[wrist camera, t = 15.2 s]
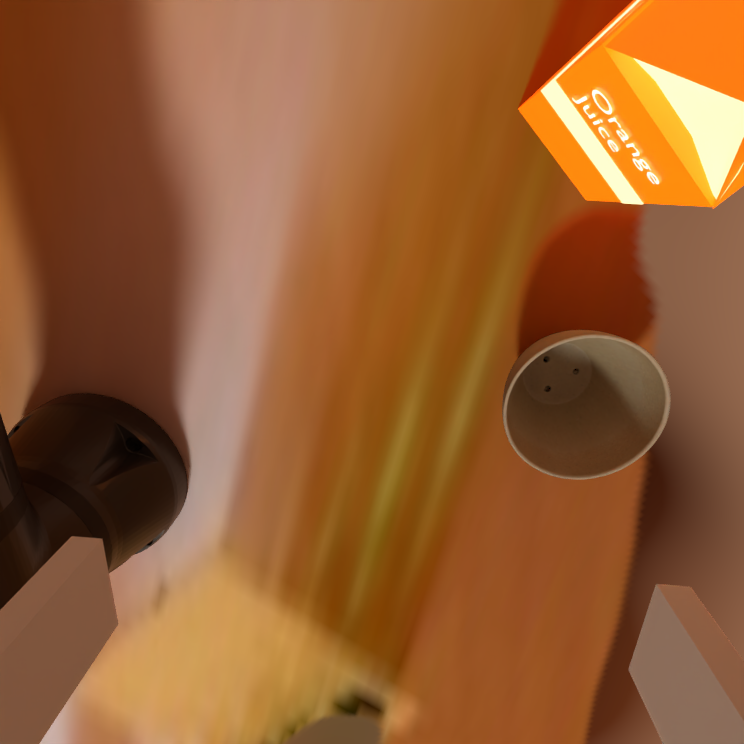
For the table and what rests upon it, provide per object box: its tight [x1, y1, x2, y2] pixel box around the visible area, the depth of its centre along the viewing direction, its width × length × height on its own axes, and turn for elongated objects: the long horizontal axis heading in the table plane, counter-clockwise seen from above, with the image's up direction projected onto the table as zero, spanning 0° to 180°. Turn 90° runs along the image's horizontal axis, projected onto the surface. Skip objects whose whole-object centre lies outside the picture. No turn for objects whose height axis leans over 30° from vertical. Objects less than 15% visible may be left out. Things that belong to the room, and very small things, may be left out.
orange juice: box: [518, 0, 744, 208], centre depth 21 cm, size 8×9×20 cm
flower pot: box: [503, 330, 671, 479], centre depth 33 cm, size 10×10×7 cm
